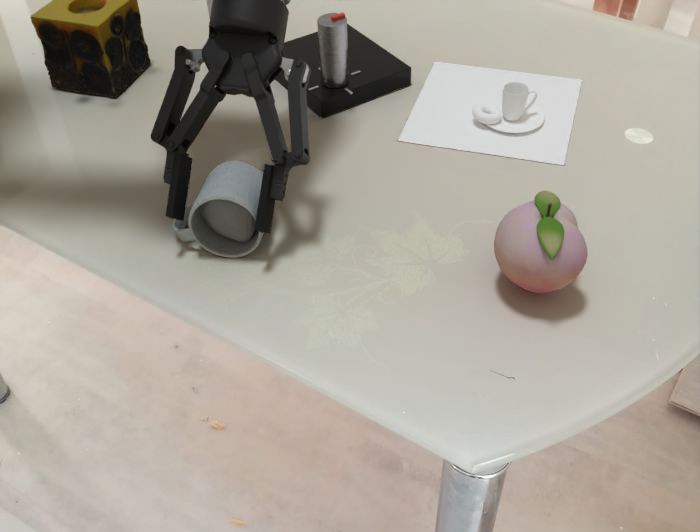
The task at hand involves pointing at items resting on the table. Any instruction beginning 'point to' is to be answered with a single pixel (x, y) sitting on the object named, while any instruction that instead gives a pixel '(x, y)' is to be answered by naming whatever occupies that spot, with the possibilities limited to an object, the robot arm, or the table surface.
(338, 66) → the silver cylinder
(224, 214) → the ceramic mug
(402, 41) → the table surface
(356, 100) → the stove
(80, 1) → the candle
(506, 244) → the decorative fruit
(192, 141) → the robot arm
